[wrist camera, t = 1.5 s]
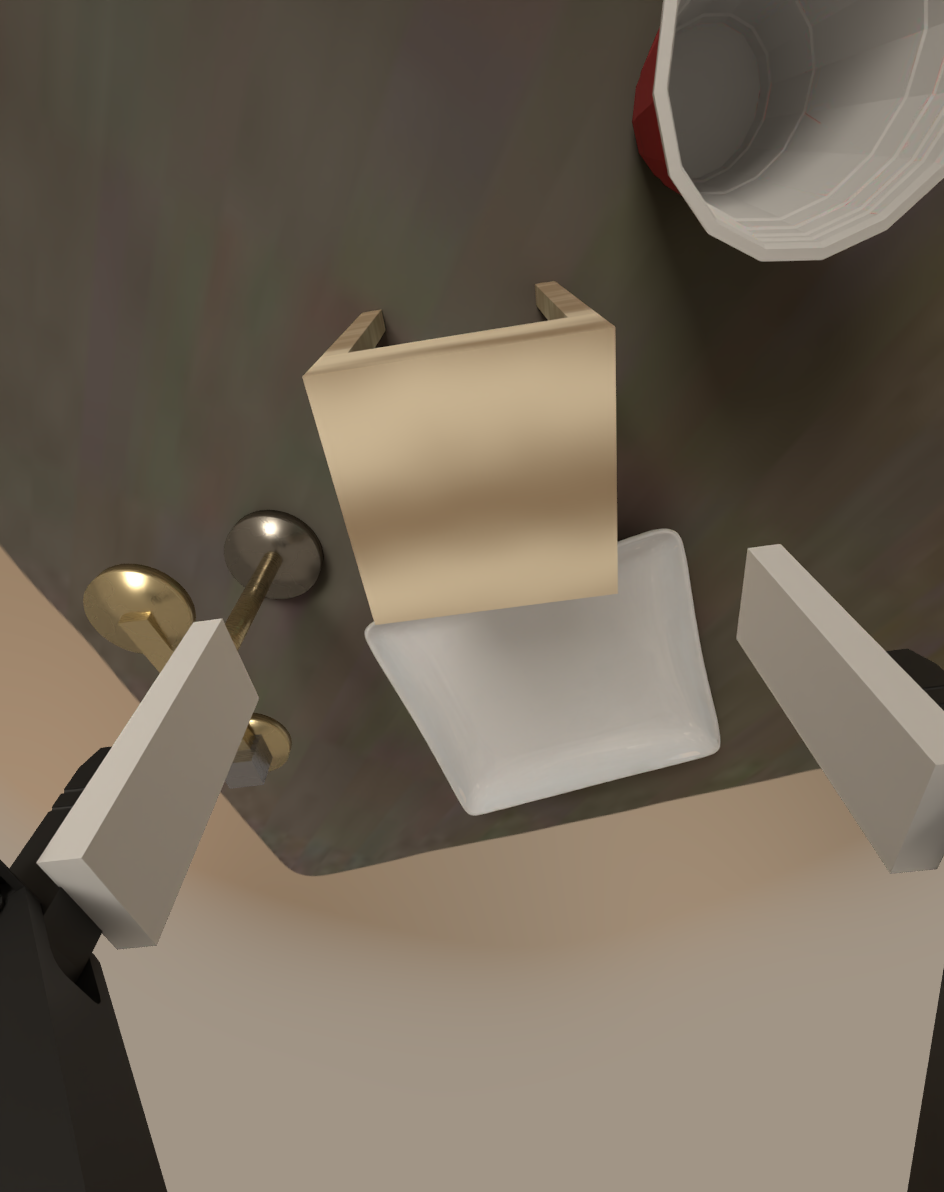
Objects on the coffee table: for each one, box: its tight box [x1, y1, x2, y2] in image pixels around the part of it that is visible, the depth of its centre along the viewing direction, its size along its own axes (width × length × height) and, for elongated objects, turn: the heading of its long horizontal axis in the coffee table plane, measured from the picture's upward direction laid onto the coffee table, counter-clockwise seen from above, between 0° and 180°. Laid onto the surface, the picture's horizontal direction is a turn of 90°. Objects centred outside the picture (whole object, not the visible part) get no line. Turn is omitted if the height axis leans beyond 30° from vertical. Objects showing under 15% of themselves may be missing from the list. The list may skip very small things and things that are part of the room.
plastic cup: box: [632, 0, 944, 262], centre depth 21 cm, size 11×11×12 cm
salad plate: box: [365, 528, 720, 816], centre depth 43 cm, size 21×21×3 cm
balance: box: [83, 510, 323, 788], centre depth 32 cm, size 15×6×15 cm, turn 8°
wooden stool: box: [303, 281, 618, 625], centre depth 27 cm, size 10×10×14 cm
